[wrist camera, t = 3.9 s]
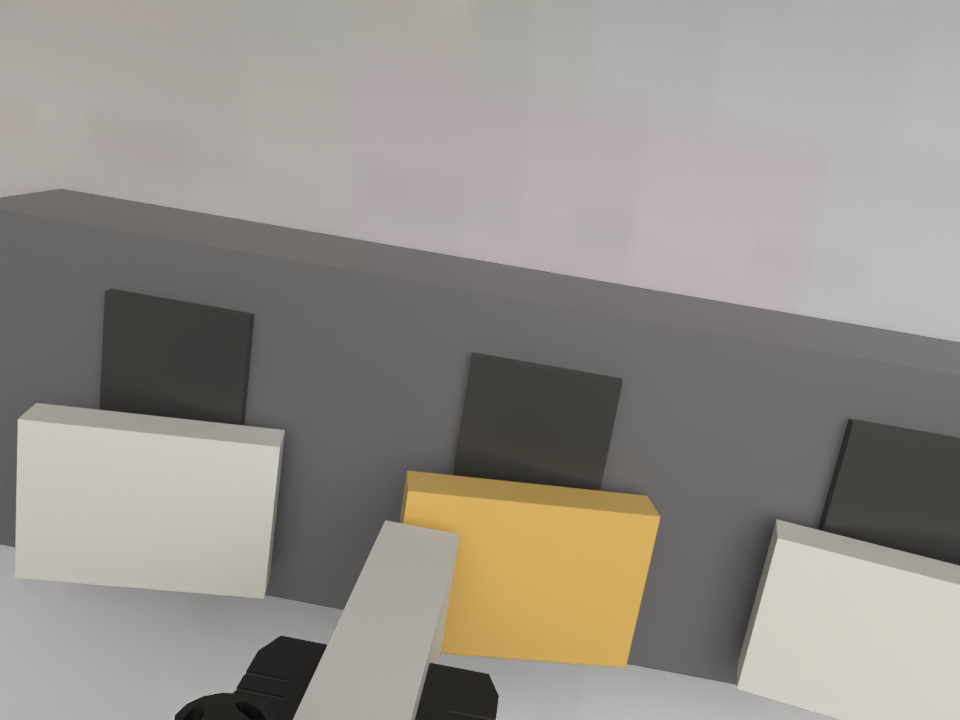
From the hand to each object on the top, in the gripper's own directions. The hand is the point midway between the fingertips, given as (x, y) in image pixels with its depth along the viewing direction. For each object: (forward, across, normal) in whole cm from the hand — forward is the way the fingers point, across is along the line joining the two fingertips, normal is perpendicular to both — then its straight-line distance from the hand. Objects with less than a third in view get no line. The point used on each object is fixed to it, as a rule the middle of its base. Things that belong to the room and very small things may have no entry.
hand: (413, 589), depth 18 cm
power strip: (+7, -1, +2) cm, 7 cm away
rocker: (+2, +10, 0) cm, 10 cm away
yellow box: (+2, +2, 0) cm, 3 cm away
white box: (+2, -6, 0) cm, 6 cm away
